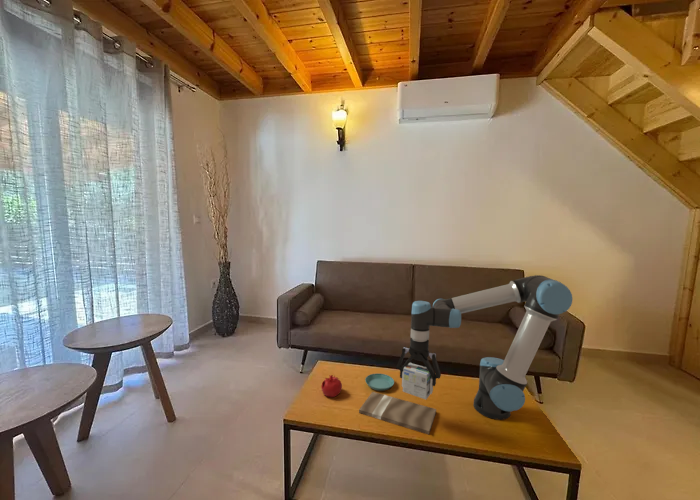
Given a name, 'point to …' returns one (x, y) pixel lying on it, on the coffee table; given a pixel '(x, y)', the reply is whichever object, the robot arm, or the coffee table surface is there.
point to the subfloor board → (399, 412)
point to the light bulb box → (416, 380)
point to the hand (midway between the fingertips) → (417, 388)
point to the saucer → (379, 382)
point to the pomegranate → (331, 386)
